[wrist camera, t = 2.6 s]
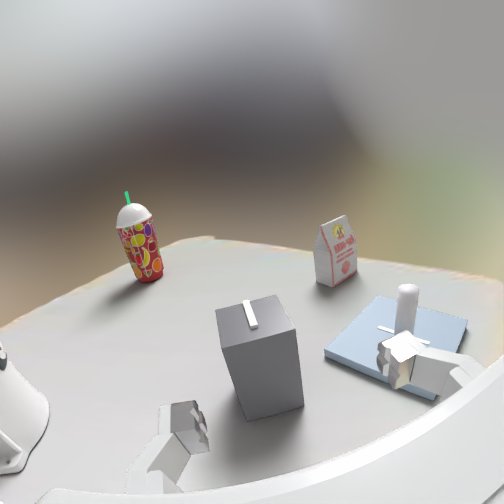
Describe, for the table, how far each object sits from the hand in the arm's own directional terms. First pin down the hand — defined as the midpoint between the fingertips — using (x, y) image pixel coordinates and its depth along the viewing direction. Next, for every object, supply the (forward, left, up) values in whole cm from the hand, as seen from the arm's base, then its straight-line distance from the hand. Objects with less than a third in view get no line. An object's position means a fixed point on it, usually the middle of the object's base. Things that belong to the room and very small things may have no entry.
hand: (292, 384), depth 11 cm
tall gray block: (+6, +11, -14) cm, 19 cm away
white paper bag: (+31, +20, -15) cm, 40 cm away
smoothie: (+11, +55, -15) cm, 58 cm away
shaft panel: (+20, +3, -14) cm, 25 cm away
